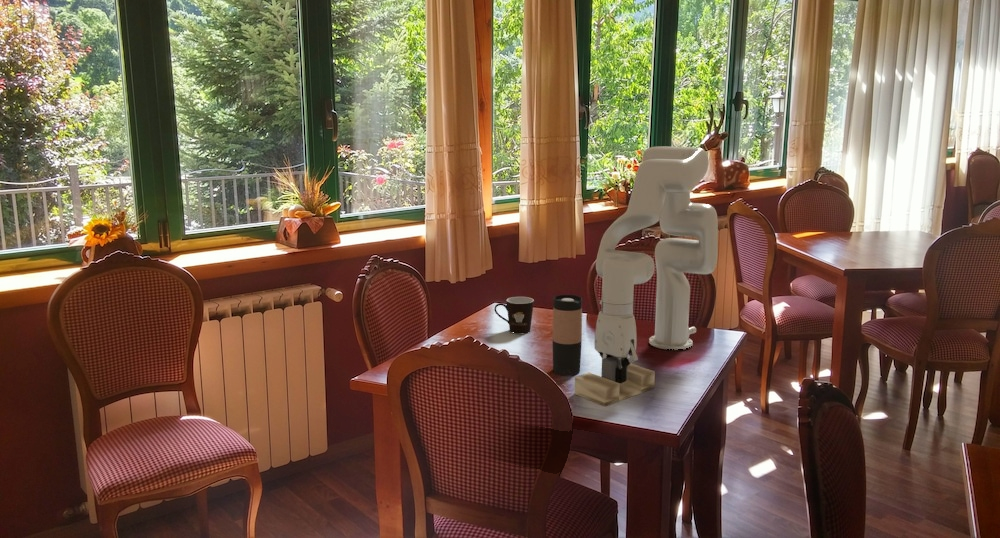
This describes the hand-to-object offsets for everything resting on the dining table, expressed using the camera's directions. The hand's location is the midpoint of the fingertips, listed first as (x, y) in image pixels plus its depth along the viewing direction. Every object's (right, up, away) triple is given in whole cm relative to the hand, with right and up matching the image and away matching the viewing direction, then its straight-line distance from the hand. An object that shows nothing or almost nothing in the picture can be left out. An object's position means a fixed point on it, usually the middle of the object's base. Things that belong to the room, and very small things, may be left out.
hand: (614, 379), depth 186 cm
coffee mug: (-23, +8, +52) cm, 57 cm away
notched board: (0, -3, +1) cm, 3 cm away
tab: (0, 0, 0) cm, 0 cm away
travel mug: (-11, 0, +15) cm, 18 cm away
